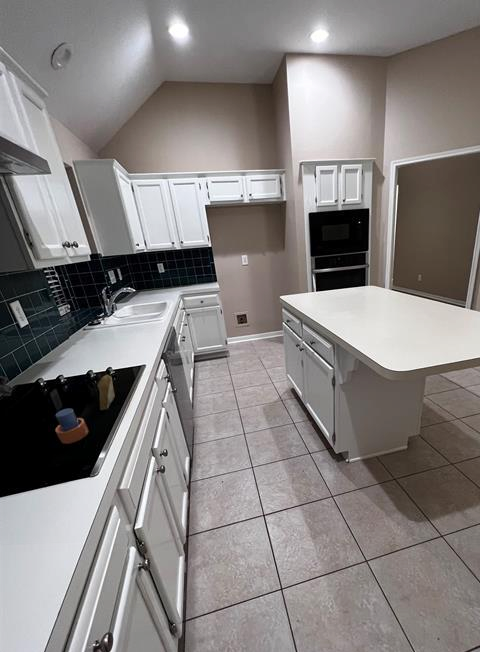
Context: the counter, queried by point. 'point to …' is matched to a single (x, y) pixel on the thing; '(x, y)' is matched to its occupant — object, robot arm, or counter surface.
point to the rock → (106, 392)
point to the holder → (73, 432)
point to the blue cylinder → (67, 419)
